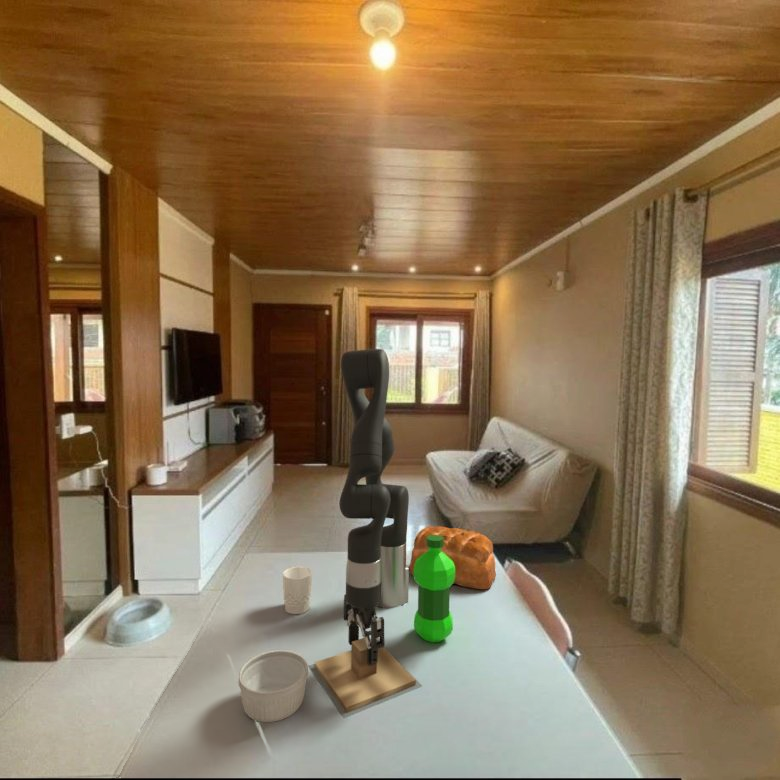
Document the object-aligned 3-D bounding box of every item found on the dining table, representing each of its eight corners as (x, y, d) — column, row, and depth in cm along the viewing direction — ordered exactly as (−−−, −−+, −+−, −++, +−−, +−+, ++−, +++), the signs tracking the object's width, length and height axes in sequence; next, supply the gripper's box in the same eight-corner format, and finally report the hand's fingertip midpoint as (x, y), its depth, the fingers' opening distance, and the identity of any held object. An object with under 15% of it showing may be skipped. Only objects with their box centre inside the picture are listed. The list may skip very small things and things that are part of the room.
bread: (489, 594, 141) (490, 542, 140) (405, 577, 151) (406, 529, 150) (497, 575, 154) (499, 528, 153) (420, 561, 164) (420, 516, 163)
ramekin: (272, 740, 85) (272, 702, 85) (223, 711, 92) (223, 676, 92) (321, 697, 96) (321, 663, 96) (274, 674, 103) (274, 642, 103)
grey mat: (379, 644, 114) (379, 642, 114) (422, 688, 99) (422, 685, 99) (308, 668, 105) (308, 665, 105) (343, 720, 90) (343, 717, 90)
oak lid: (377, 645, 113) (378, 616, 113) (415, 684, 99) (416, 652, 99) (314, 666, 105) (314, 635, 104) (346, 712, 91) (346, 677, 91)
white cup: (276, 611, 129) (276, 575, 128) (293, 598, 136) (293, 564, 136) (301, 618, 126) (302, 581, 125) (317, 604, 133) (317, 569, 133)
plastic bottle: (403, 638, 117) (405, 538, 116) (430, 621, 125) (432, 527, 124) (436, 655, 110) (438, 549, 109) (462, 636, 118) (464, 537, 117)
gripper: (396, 588, 97) (394, 666, 97) (363, 563, 109) (362, 632, 110) (363, 596, 93) (362, 677, 94) (333, 569, 105) (332, 641, 106)
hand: (362, 653), depth 102 cm, fingers open, 8 cm apart
